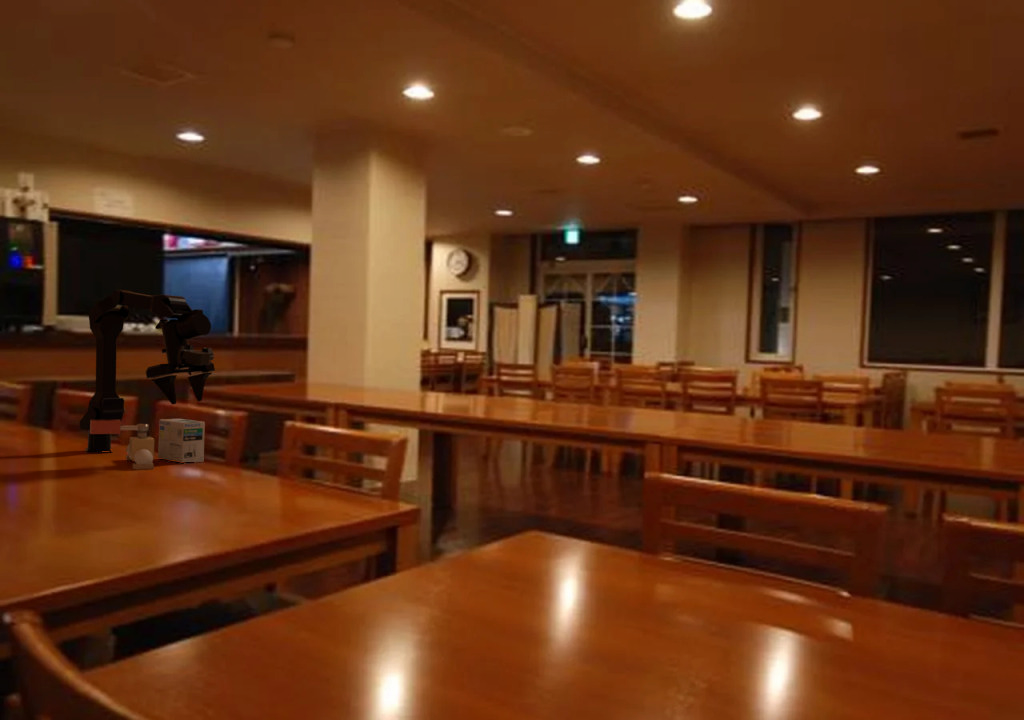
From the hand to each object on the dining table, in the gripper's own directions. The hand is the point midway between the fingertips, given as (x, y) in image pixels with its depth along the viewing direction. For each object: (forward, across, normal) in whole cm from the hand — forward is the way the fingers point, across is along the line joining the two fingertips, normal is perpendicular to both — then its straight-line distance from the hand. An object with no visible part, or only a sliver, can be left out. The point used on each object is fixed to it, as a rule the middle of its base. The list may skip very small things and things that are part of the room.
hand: (187, 402), depth 209 cm
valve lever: (+5, -13, +10) cm, 17 cm away
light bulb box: (+15, +3, +8) cm, 17 cm away
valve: (+13, -8, +12) cm, 19 cm away
